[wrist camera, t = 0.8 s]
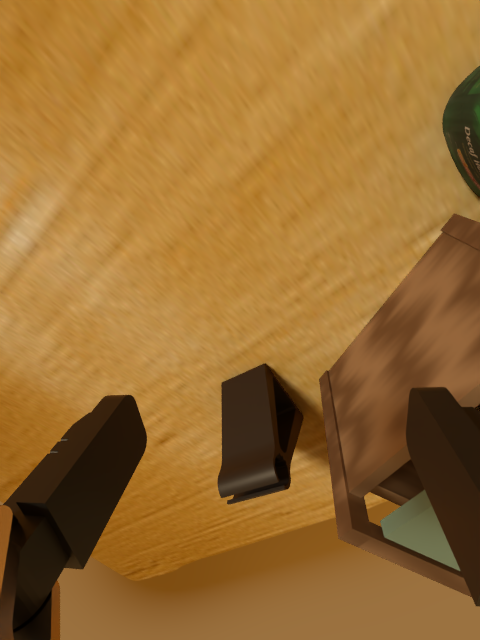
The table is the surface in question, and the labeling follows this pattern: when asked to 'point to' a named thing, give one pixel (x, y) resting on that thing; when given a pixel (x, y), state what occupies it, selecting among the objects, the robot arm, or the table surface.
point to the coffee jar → (465, 129)
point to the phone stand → (256, 435)
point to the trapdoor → (419, 530)
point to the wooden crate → (403, 389)
